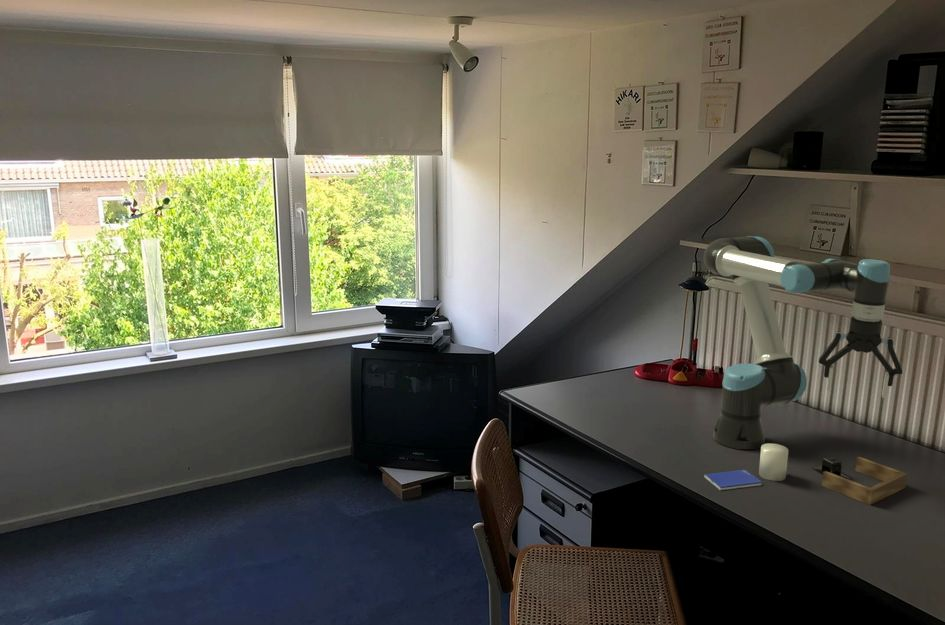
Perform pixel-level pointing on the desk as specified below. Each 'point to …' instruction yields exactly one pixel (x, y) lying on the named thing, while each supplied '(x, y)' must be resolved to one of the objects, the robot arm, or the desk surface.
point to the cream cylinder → (773, 462)
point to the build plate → (831, 467)
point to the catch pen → (889, 486)
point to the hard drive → (732, 479)
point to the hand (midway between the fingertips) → (855, 392)
